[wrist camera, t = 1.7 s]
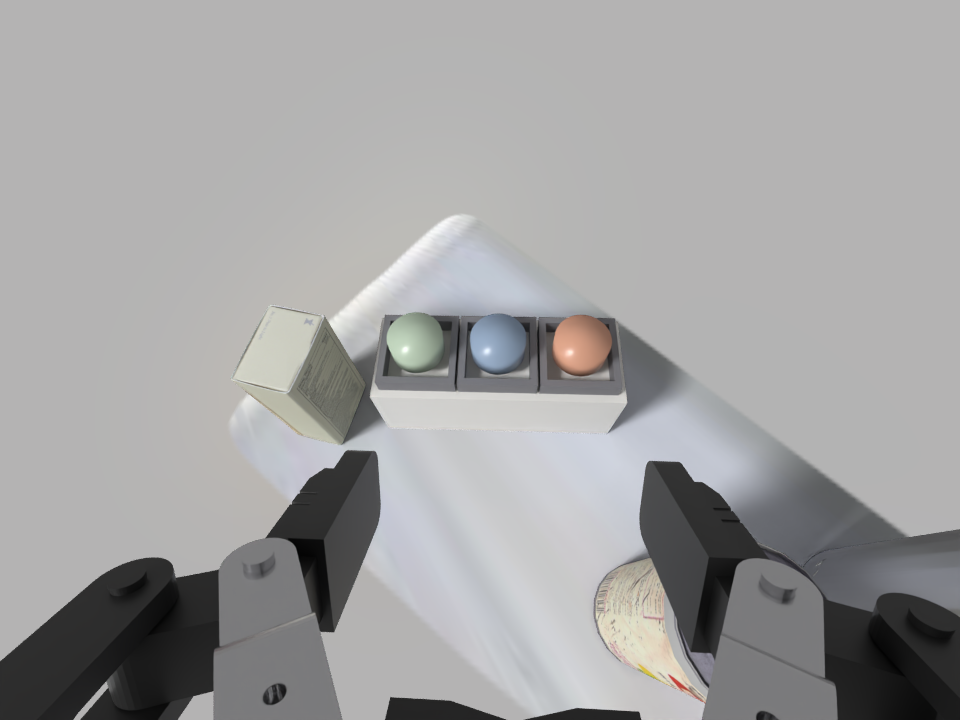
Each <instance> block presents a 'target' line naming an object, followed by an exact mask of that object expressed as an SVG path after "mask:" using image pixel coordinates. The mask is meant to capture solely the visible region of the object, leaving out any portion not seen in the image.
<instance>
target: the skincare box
mask: <svg viewBox="0 0 960 720" xmlns="http://www.w3.org/2000/svg"><path fill="white" fill-rule="evenodd" d="M231 380H232V381H233V382H235V383H236V384H237V385H238V386H240V387H241V388H242V389H243V390H245V391H246V392H247V393H248V394H250V395H251V396H252V397H253V398H254V399H256V400H257V401H258V402H259V403H261V404H262V405H263V406H264V407H266V408H267V409H268V410H269V411H270V412H272V413H273V414H274V415H275V416H277V417H278V418H279V419H280V420H282V421H283V422H284V423H285V424H286V425H288V426H289V427H290V428H291V429H292V430H294V431H295V432H296V433H297V434H299V435H302V436H306V437H309V438H313V439H317V440H321V441H324V442H328V443H333V444H337V445H341V444H342V443H343V441H344V439H345V437H346V434H347V432H348V430H349V427H350V425H351V422H352V420H353V417H354V415H355V412H356V410H357V407H358V405H359V402H360V400H361V397H362V394H363V391H364V389H365V386H366V384H365V382H364V380H363V379H362V377H361V375H360V374H359V372H358V371H357V369H356V367H355V366H354V364H353V362H352V361H351V359H350V357H349V356H348V354H347V352H346V351H345V349H344V347H343V346H342V344H341V342H340V341H339V339H338V337H337V336H336V334H335V333H334V331H333V329H332V328H331V326H330V324H329V322H328V321H327V319H326V318H325V316H324V315H319V314H315V313H311V312H306V311H301V310H297V309H292V308H287V307H282V306H276V305H269V307H268V309H267V310H266V312H265V313H264V316H263V317H262V319H261V320H260V322H259V324H258V326H257V328H256V330H255V332H254V334H253V335H252V338H251V339H250V341H249V343H248V345H247V347H246V349H245V351H244V353H243V355H242V357H241V359H240V361H239V363H238V364H237V366H236V369H235V370H234V373H233V375H232V376H231Z"/></svg>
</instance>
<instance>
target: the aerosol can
mask: <svg viewBox="0 0 960 720" xmlns="http://www.w3.org/2000/svg"><path fill="white" fill-rule="evenodd" d="M757 544H758V545H759V546H760V547H761V549H762V550H763V551H764V553H765V554H766V555H767V557H768V558H769V559H770V560H772V561H775V562H779V563H781V564H784V565H786V566H789V567H791V568H793V569H795V570H796V571H798V572H800V573H801V574H803V575H804V576H805V577H807V578H808V579H809V580H810V581H811V582H812V583H813V584H814V585H815V586H816V587H817V588H818V590H819V591H820V593H821V595H822V597H823V599H826V600H828V598H827V596H826V595H825V593H824V592H823V591H822V590H821V588H820V587H819V586H818V585H817V583H816V582H815V581H814V580H813V578H812V577H811V576H810V575H809V573H808V572H807V571H806V570H804V569H803V568H802V567H801V566H799V565H798V564H797V563H795V562H794V561H793V560H792V559H790V558H789V557H788V556H787V555H785V554H784V553H782V552H779V551H777V550H775V549H773V548H770V547H768V546H766V545H764V544H761V543H758V542H757ZM594 619H595V623H596V627H597V631H598V634H599V635H600V637H601V639H602V641H603V642H604V644H605V646H606V648H607V649H608V650H609V651H610V652H611V653H612V654H613V655H614V656H615V657H616V658H617V659H618V660H619V661H621V662H623V663H625V664H627V665H628V666H630V667H632V668H634V669H636V670H638V671H640V672H642V673H644V674H646V675H648V676H651V677H653V678H655V679H657V680H659V681H661V682H663V683H665V684H667V685H669V686H671V687H673V688H675V689H677V690H679V691H681V692H684V693H686V694H688V695H690V696H692V697H694V698H696V699H698V700H700V701H702V702H704V703H706V699H707V694H708V690H709V685H710V681H711V676H712V672H713V668H714V663H715V660H714V658H713V656H712V654H711V653H694V652H690V650H689V647H688V645H687V643H686V640H685V638H684V635H683V633H682V631H681V628H680V626H679V624H678V621H677V619H676V616H675V614H674V612H673V609H672V607H671V605H670V602H669V600H668V598H667V595H666V593H665V590H664V588H663V586H662V583H661V581H660V579H659V576H658V574H657V572H656V569H655V567H654V564H653V562H652V560H651V558H647V559H644V560H640V561H637V562H633V563H630V564H626V565H622V566H619V567H617V568H616V569H614V570H613V571H611V572H610V573H608V574H607V575H606V576H605V578H604V579H603V580H602V582H601V583H600V584H599V586H598V589H597V592H596V595H595V598H594Z"/></svg>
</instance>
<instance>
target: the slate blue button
mask: <svg viewBox="0 0 960 720" xmlns="http://www.w3.org/2000/svg"><path fill="white" fill-rule="evenodd" d="M470 343H471V353H472V358H473V360H474V362H475V364H476V365H477V366H478V367H479V368H480V369H481V370H483V371H484V372H487V373H489V374H494V375H502V374H507V373H510V372H512V371H514V370H515V369H516V368H517V367H518V366H519V365H520V364H521V363H522V361H523V359H524V355H525V347H526V332H525V329H524V327H523V326H522V324H521V323H520V322H519V321H518V320H516V319H515V318H513V317H511V316H509V315H505V314H491V315H488V316H485V317H483V318H481V319H480V320H479V321H478V322H477V323H476V324H475V325H474V327H473V328H472V330H471V334H470Z"/></svg>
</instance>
